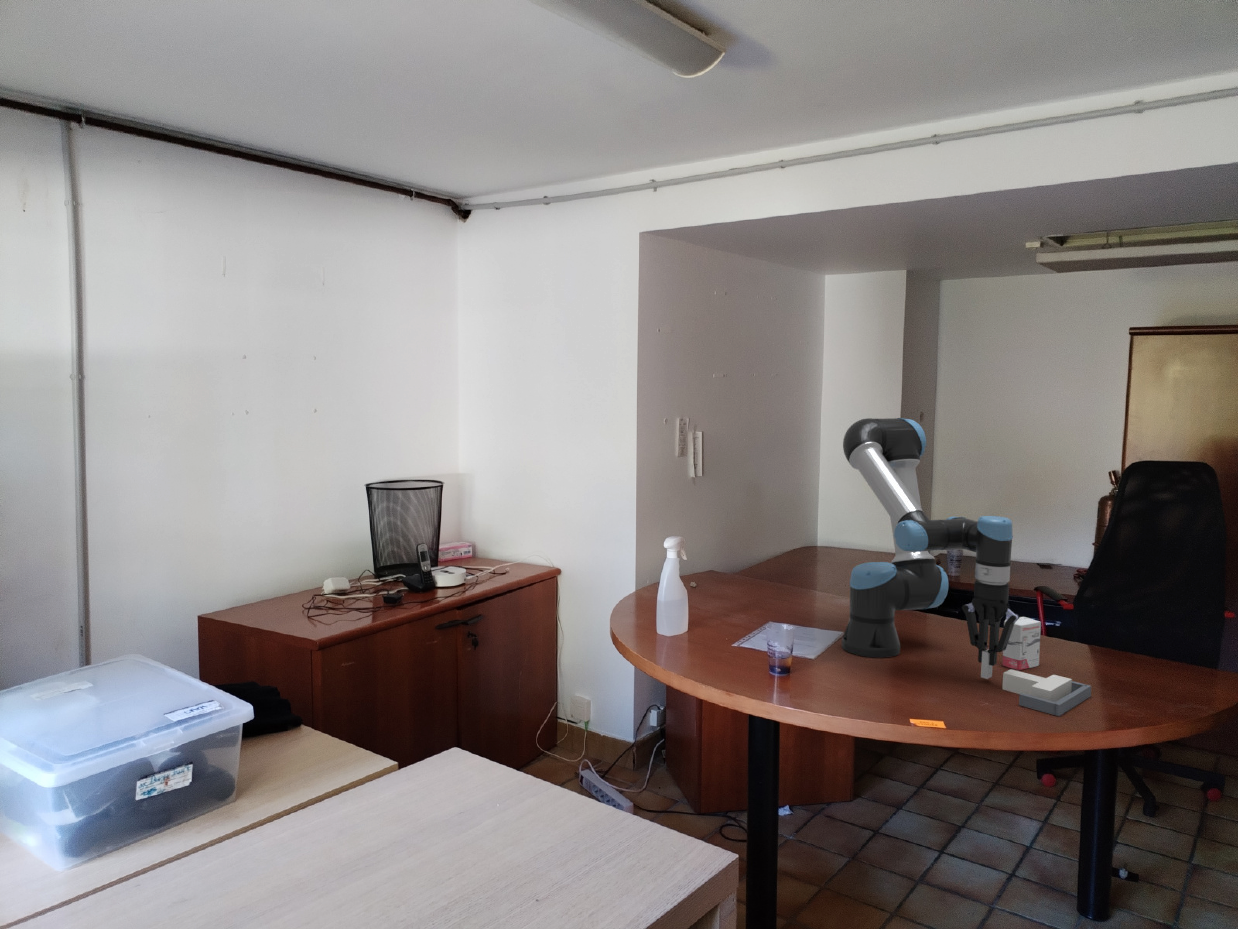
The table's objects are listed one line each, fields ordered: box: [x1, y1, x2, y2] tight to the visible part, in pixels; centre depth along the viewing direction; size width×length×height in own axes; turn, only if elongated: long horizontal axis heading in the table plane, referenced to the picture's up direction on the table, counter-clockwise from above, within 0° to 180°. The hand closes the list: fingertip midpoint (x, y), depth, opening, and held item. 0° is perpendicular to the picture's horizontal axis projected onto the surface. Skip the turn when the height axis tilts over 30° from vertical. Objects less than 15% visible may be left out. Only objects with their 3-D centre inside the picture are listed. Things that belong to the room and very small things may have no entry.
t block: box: [1002, 668, 1073, 702], centre depth 182 cm, size 12×12×4 cm
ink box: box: [1002, 616, 1042, 671], centre depth 202 cm, size 9×5×12 cm, turn 118°
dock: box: [1018, 680, 1092, 717], centre depth 178 cm, size 8×18×2 cm, turn 131°
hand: (986, 677), depth 190 cm, fingers closed
